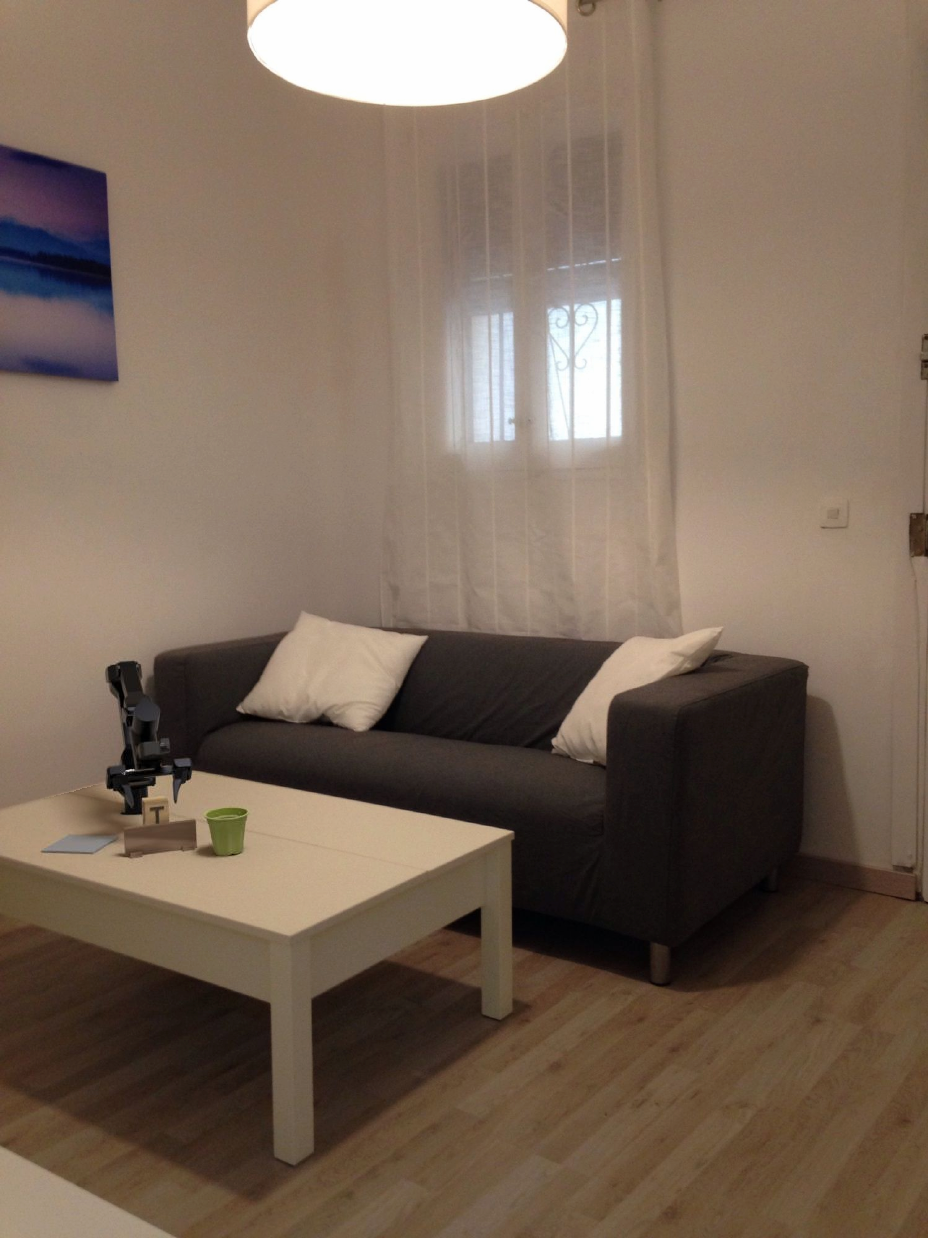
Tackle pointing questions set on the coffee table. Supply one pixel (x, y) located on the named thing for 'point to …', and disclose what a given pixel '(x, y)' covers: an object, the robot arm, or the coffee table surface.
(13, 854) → the coffee table surface
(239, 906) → the coffee table surface
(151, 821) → the letter block
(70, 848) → the felt mat
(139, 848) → the walnut screen
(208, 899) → the coffee table surface
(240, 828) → the plant pot
